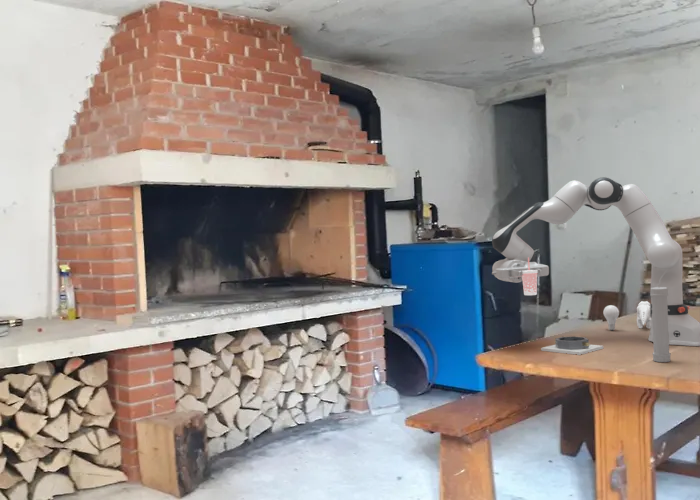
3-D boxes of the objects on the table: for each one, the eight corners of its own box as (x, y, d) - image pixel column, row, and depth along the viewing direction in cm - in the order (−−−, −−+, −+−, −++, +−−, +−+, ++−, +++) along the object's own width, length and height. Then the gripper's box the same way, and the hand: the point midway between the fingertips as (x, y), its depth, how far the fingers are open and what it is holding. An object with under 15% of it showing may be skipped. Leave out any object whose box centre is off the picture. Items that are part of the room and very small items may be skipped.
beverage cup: (536, 295, 250) (534, 257, 249) (519, 295, 253) (517, 258, 253) (540, 293, 255) (538, 256, 255) (524, 293, 258) (522, 257, 258)
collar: (596, 346, 252) (596, 338, 251) (580, 350, 244) (579, 342, 244) (564, 343, 262) (564, 335, 262) (547, 347, 255) (547, 339, 255)
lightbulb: (621, 331, 289) (620, 305, 288) (605, 331, 290) (604, 306, 290) (618, 329, 295) (617, 304, 294) (602, 329, 296) (601, 304, 296)
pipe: (649, 360, 227) (645, 270, 227) (667, 358, 228) (663, 269, 227) (658, 363, 222) (654, 271, 221) (676, 361, 222) (673, 270, 222)
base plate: (603, 348, 252) (603, 345, 252) (579, 355, 242) (579, 352, 242) (565, 344, 264) (565, 341, 264) (541, 350, 254) (541, 347, 254)
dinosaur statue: (654, 322, 304) (653, 298, 303) (652, 336, 283) (651, 310, 282) (637, 322, 307) (636, 298, 306) (634, 335, 286) (633, 309, 285)
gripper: (489, 265, 265) (503, 266, 251) (538, 261, 268) (555, 262, 254) (490, 281, 265) (504, 283, 251) (539, 277, 268) (556, 279, 255)
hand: (530, 272), depth 253 cm, fingers closed on beverage cup, 6 cm apart
